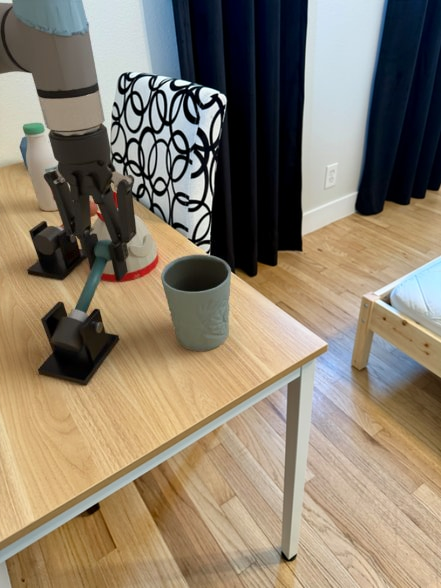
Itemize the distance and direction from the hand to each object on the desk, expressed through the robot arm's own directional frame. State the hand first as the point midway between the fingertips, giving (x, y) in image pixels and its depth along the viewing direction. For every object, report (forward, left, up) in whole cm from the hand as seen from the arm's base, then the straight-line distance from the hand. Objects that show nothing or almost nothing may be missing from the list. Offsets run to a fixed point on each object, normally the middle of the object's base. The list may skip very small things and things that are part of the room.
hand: (110, 273), depth 70 cm
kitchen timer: (-6, +14, -8) cm, 18 cm away
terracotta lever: (-19, +17, -4) cm, 25 cm away
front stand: (0, -11, -8) cm, 13 cm away
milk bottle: (-37, +34, -8) cm, 51 cm away
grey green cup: (+16, -2, -8) cm, 18 cm away
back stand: (-19, +11, -8) cm, 23 cm away
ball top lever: (0, -5, -1) cm, 5 cm away
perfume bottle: (-60, +59, -7) cm, 84 cm away
